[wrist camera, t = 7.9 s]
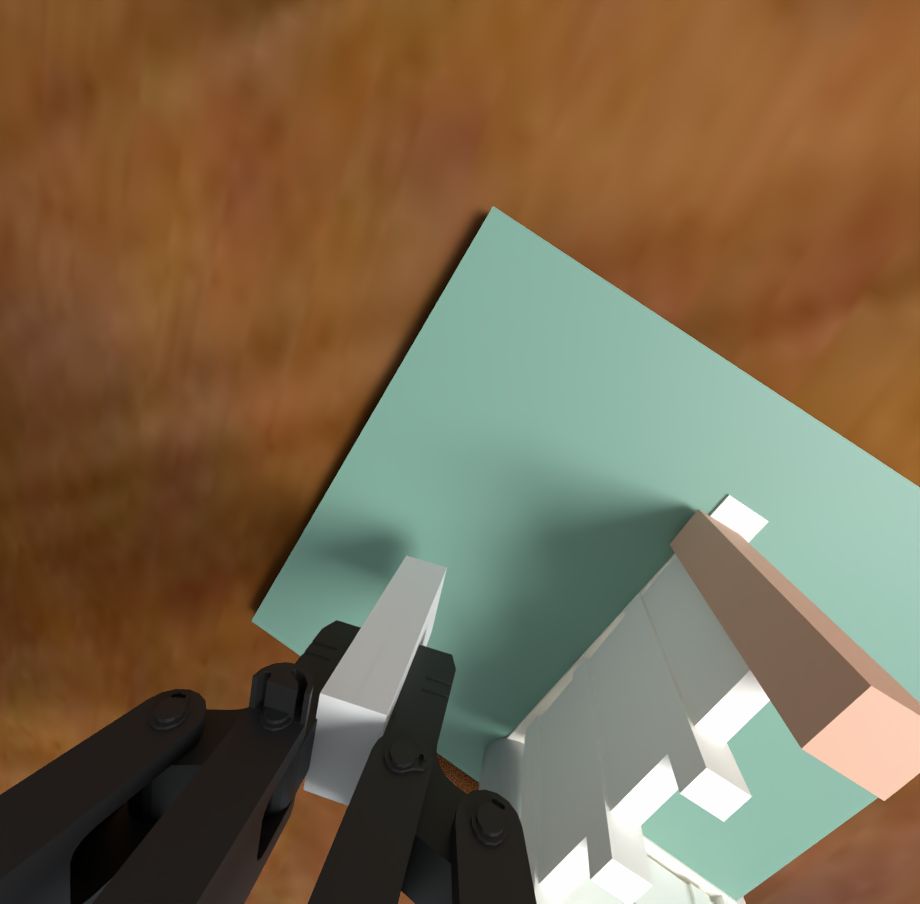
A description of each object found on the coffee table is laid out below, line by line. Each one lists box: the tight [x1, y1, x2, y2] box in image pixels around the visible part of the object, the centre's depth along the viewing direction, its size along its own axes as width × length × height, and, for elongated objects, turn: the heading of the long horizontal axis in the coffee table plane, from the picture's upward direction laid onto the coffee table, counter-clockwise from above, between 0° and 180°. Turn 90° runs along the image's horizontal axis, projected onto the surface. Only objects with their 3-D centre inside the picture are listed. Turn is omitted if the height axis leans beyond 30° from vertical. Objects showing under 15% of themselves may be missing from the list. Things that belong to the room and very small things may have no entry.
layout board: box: [252, 206, 920, 904], centre depth 18 cm, size 24×20×1 cm
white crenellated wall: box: [520, 509, 920, 904], centre depth 13 cm, size 12×2×8 cm, turn 150°
